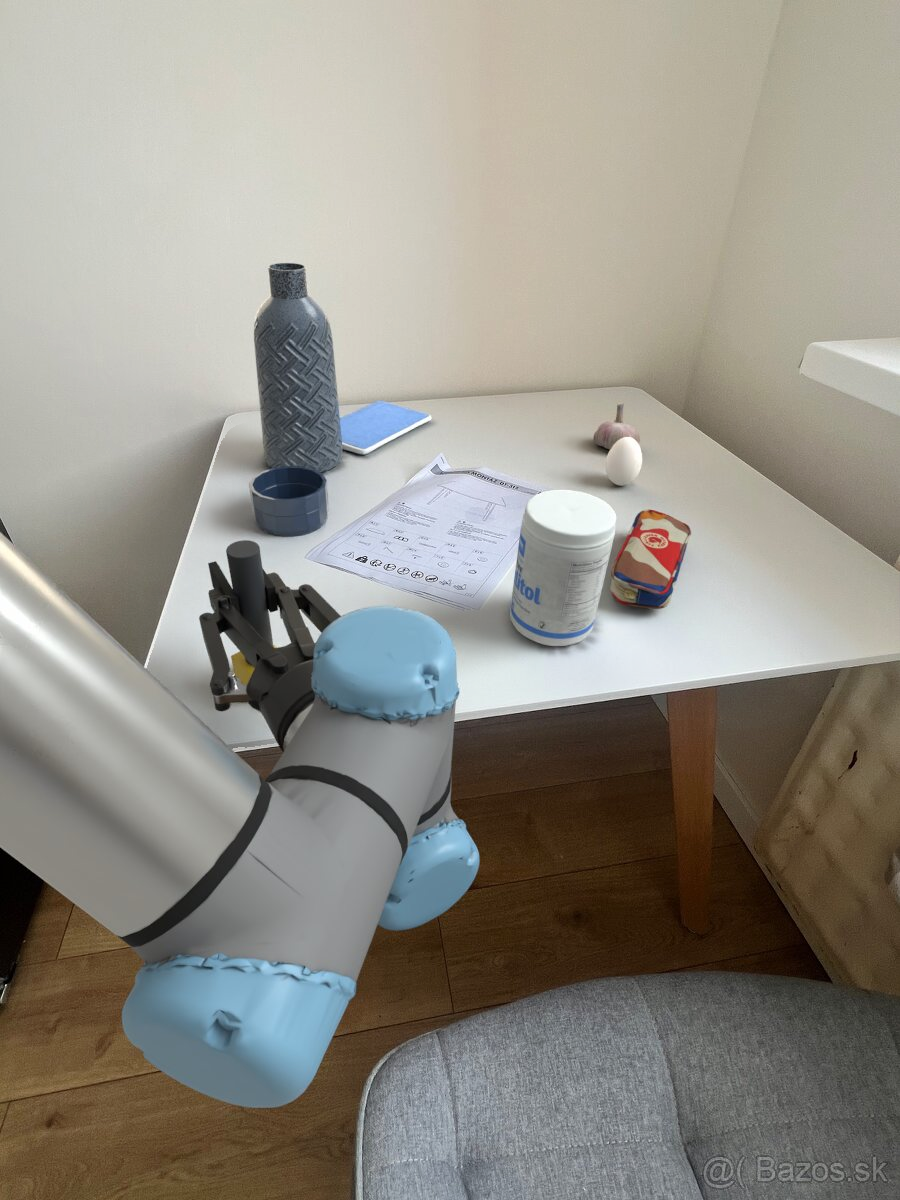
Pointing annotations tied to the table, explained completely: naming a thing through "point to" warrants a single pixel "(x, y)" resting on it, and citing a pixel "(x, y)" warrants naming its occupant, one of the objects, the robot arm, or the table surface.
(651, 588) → the pencil case
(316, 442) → the vase
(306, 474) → the bowl
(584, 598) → the supplement tub
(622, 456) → the egg
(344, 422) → the tablet
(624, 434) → the garlic bulb
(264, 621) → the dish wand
